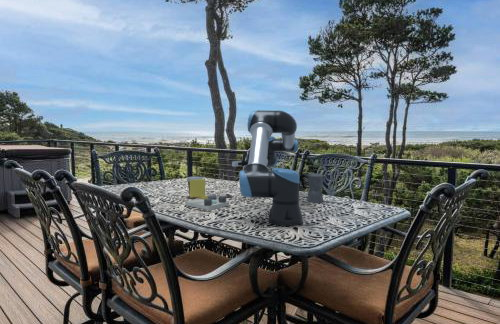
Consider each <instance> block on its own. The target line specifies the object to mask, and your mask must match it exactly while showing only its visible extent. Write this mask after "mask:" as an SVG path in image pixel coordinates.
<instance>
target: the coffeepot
mask: <svg viewBox="0 0 500 324" xmlns="http://www.w3.org/2000/svg"><path fill="white" fill-rule="evenodd" d="M304 178H307V185H308V187H309V189H308V191H307V197H306V202H307V203H311V204H322V203H323V202H324V197H323V191H322V188H323V184H324V182H325V180H326V179H327V178H328V176H327V175H324V174H320V173H318V170H316V169H314V173H311V174H307V173H302V174H301V175H299V181H300V183H301V187H302V188H303V189H307V188H308V187H307V186H305V182H304Z"/></svg>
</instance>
